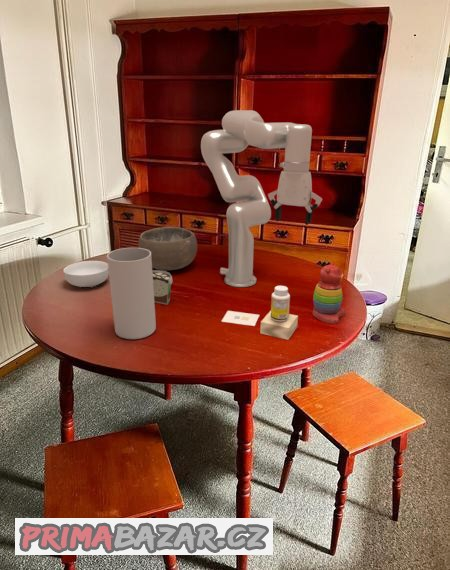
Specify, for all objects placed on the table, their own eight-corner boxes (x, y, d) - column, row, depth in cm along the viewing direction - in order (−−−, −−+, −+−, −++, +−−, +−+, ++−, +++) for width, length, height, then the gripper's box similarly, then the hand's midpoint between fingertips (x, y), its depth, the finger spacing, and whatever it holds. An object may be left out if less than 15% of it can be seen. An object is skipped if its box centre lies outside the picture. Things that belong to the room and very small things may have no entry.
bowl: (156, 255, 200) (154, 224, 194) (205, 261, 193) (205, 228, 187) (130, 273, 179) (127, 238, 173) (184, 280, 172) (183, 244, 166)
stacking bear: (336, 325, 138) (342, 273, 131) (306, 317, 143) (311, 267, 136) (346, 312, 146) (353, 263, 139) (318, 305, 151) (323, 257, 144)
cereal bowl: (116, 277, 175) (115, 260, 172) (101, 293, 160) (99, 276, 157) (76, 275, 176) (74, 259, 174) (58, 291, 161) (55, 274, 158)
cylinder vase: (134, 317, 142) (127, 245, 132) (164, 327, 136) (159, 252, 127) (106, 333, 132) (97, 256, 122) (137, 344, 126) (131, 264, 117)
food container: (180, 298, 156) (179, 273, 152) (171, 305, 151) (169, 279, 147) (151, 292, 161) (149, 267, 157) (141, 299, 155) (139, 273, 152)
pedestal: (260, 333, 133) (260, 321, 131) (270, 321, 140) (271, 310, 139) (288, 339, 129) (289, 328, 128) (297, 327, 137) (298, 315, 135)
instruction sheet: (221, 321, 140) (221, 321, 140) (227, 311, 147) (227, 310, 147) (254, 326, 137) (254, 325, 137) (259, 315, 144) (259, 314, 144)
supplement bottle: (276, 312, 137) (278, 283, 133) (291, 317, 134) (294, 287, 130) (266, 318, 133) (268, 288, 129) (282, 324, 130) (284, 293, 126)
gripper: (265, 167, 132) (263, 221, 139) (321, 170, 125) (316, 228, 132) (274, 164, 138) (271, 216, 145) (327, 167, 131) (322, 222, 138)
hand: (292, 222), depth 138 cm, fingers open, 9 cm apart
